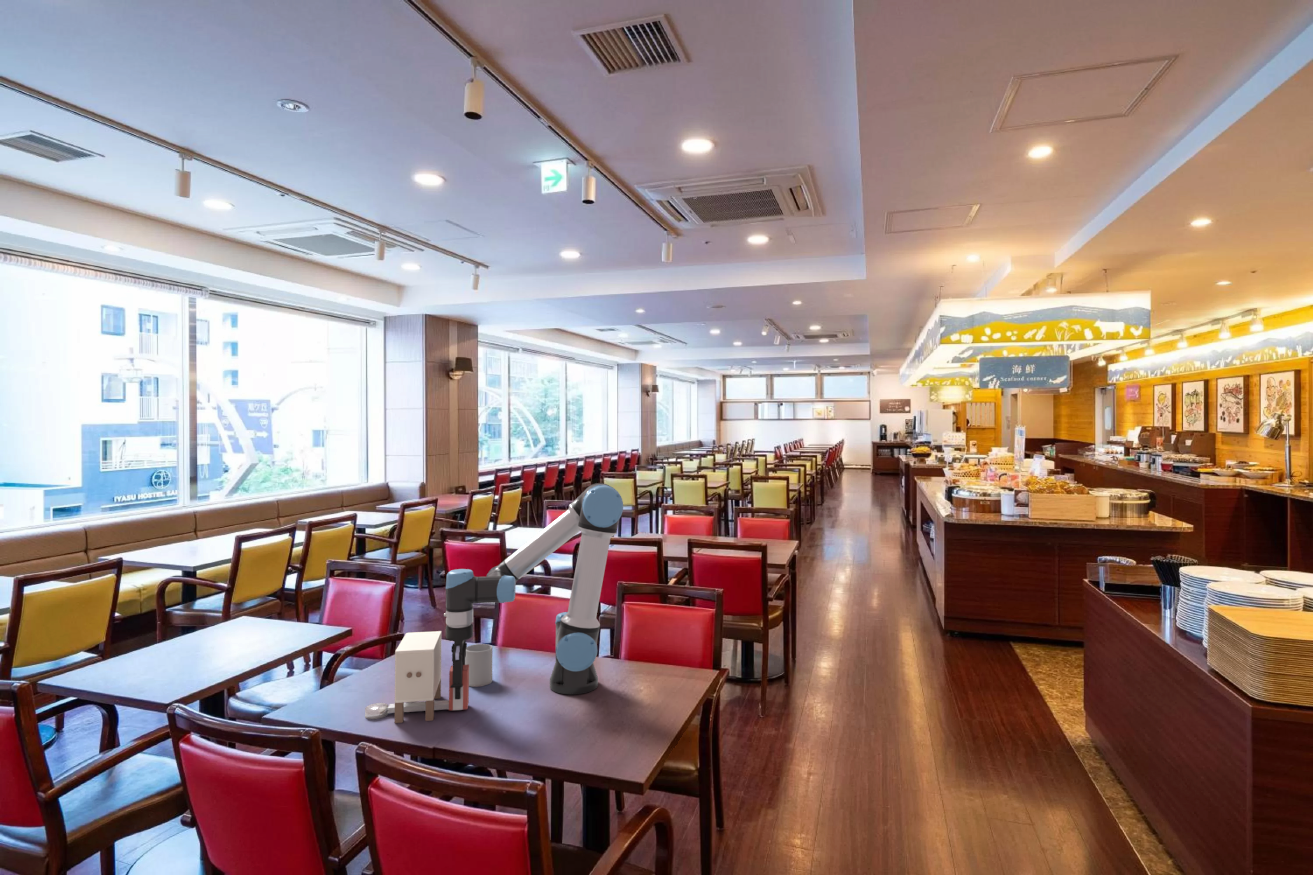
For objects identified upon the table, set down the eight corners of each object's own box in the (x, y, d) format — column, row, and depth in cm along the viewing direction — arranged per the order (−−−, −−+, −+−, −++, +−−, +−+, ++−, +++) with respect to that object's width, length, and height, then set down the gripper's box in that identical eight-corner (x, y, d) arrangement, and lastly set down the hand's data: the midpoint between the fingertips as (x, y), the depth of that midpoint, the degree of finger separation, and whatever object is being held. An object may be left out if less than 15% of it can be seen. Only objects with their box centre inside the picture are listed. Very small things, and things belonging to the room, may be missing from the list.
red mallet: (468, 702, 194) (469, 664, 194) (467, 709, 189) (467, 670, 189) (390, 707, 189) (390, 668, 190) (386, 714, 185) (387, 674, 185)
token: (389, 710, 190) (389, 701, 190) (386, 718, 184) (386, 710, 184) (367, 712, 188) (367, 703, 188) (363, 720, 183) (363, 712, 183)
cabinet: (440, 695, 200) (441, 630, 200) (432, 722, 181) (433, 650, 182) (405, 698, 198) (406, 632, 199) (393, 725, 179) (394, 652, 180)
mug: (497, 679, 214) (498, 645, 214) (480, 688, 206) (480, 653, 207) (468, 674, 219) (469, 640, 219) (450, 682, 212) (450, 647, 212)
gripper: (449, 616, 199) (448, 694, 199) (442, 633, 181) (441, 719, 181) (475, 615, 201) (474, 692, 200) (470, 632, 183) (469, 717, 183)
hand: (458, 705), depth 191 cm, fingers closed on red mallet, 5 cm apart
